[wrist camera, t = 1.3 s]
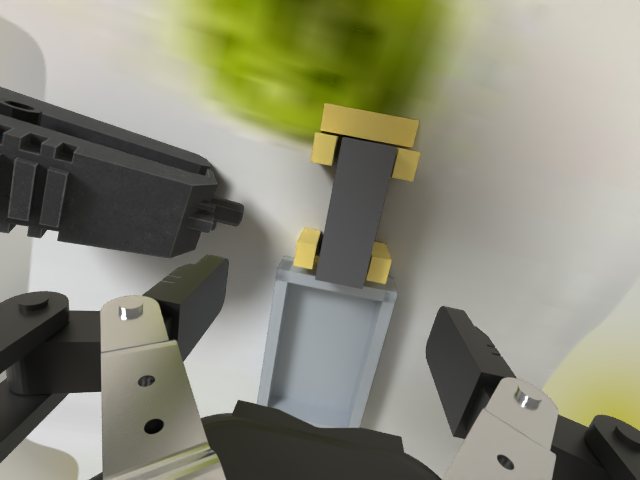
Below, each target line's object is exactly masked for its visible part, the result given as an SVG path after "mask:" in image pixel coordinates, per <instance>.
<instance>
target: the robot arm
mask: <svg viewBox="0 0 640 480" xmlns="http://www.w3.org/2000/svg"><path fill="white" fill-rule="evenodd" d="M228 266H229V261H228V259H227V258H222V257H218V256H213V255H206V256H205V257H204V258H202V259H201V260H200V261H199V262H198V263H196V264H195V265H194V264H188V265H185V266H182V267H179V268H177V269H176V270H174V271H173V272H172V273H171V274H169V276H167V277H165V278H164V279H163V280H162V281H160V282H159V283H158V284H156V285H155V286H154V287H152V288H151V289H150V290H149V291H147V292H146V293H145V294H143V295H142V296H137V295H133V296H124V297H119V298H116V299H113V300H111V301H109V302H107V303H106V304H105V305H104V306H103V307H102V308H101V311H69V300H68V298H67V297H66V296H65V295H63V294H60V293H57V292H48V291H40V292H31V293H25V294H21V295H18V296H15V297H12V298H9V299H7V300H5V301H3V302H1V303H0V374H1V373H2V372H3V371H5V370H6V374H7V378H6V379H5V380H4V381H2V382H1V383H0V463H1V462H2V461H3V460H4V459H5V458H6V457H7V456H8V455H9V454H10V453H11V452H12V451H13V450H14V448H16V447H17V446H18V445H19V444H20V443H21V442H22V441H23V440H24V438H26V437H27V436H28V435H29V434H30V433H31V431H32V430H33V429H34V428H35V427H36V426H37V425H38V424H39V423H40V422H41V421H42V420H43V419H44V418H45V417H46V416H47V415H48V414H49V413H50V412H51V411H52V410H53V409H54V408H55V407H56V406H57V405H58V404H59V403H60V402H61V401H62V400H63V399H64V398H65V397H66V396H67V395H68V394H69V393H81V392H101V394H102V460H103V472H102V473H100V474H98V475H96V476H95V477H93V478H91V479H89V480H640V431H639V430H637V429H636V428H634V427H632V426H631V425H629V424H626V423H625V422H623V421H621V420H619V419H616V418H613V417H610V416H606V415H597V416H595V418H594V419H593V421H592V422H591V424H590V425H589V427H586V426H584V425H581V424H579V423H577V422H574V421H572V420H570V419H567V418H565V417H562V416H560V415H558V409H557V406H556V405H555V403H554V402H553V401H552V400H551V398H549V397H548V396H547V395H546V394H545V393H544V392H543V391H541V390H540V389H538V388H537V387H535V386H533V385H532V384H530V383H528V382H525V381H523V380H520V379H517V378H516V376H515V375H514V373H513V372H512V370H511V369H510V368H509V366H508V365H507V363H506V362H505V360H504V359H503V357H501V356H500V353H499V352H498V350H497V349H496V348H495V346H494V344H493V343H492V341H491V340H490V339H489V337H488V336H487V335H486V334H484V333H483V332H482V331H481V330H480V329H479V328H477V327H475V326H474V325H473V324H472V322H471V320H470V319H469V317H468V316H467V314H466V313H465V312H464V311H463V310H459V309H454V308H450V307H445V306H442V307H441V308H440V309H439V311H438V313H437V316H436V318H435V321H434V324H433V327H432V330H431V332H430V335H429V338H428V341H427V345H426V359H427V362H428V365H429V368H430V371H431V374H432V377H433V379H434V382H435V385H436V388H437V391H438V394H439V397H440V400H441V403H442V405H443V408H444V411H445V414H446V417H447V420H448V423H449V426H450V429H451V431H452V434H453V436H454V437H458V438H463V439H465V440H464V442H463V444H462V446H461V447H460V449H459V451H458V453H457V454H456V456H455V458H454V460H453V461H452V463H451V465H450V466H449V468H448V470H447V472H446V473H445V475H444V477H443V479H441V478H440V477H439V476H438V475H437V474H435V473H434V472H433V471H432V470H431V469H430V468H428V467H427V466H426V465H424V464H423V463H421V462H420V461H419V460H417V459H415V458H414V457H412V456H410V455H408V454H406V453H404V450H403V444H402V438H401V437H400V436H395V435H391V434H386V433H382V432H378V431H373V430H369V429H364V428H319V427H315V426H313V425H311V424H309V423H307V422H305V421H302V420H300V419H298V418H296V417H294V416H292V415H290V414H288V413H285V412H283V411H281V410H279V409H276V408H272V407H267V406H263V405H258V404H254V403H249V402H245V401H241V400H238V401H237V404H236V406H235V409H234V411H233V413H225V414H216V415H211V416H207V417H204V418H201V419H200V415H199V412H198V409H197V406H196V402H195V399H194V396H193V393H192V389H191V386H190V383H189V380H188V376H187V373H186V370H185V367H184V363H183V362H184V360H185V359H186V358H187V356H188V355H189V354H190V352H191V351H192V349H193V348H194V347H195V345H196V344H197V343H198V341H199V340H200V339H201V337H202V336H203V334H204V333H205V332H206V330H207V329H208V328H209V326H210V325H211V323H212V322H213V321H214V319H215V318H216V317H217V315H218V314H219V312H220V311H221V309H222V306H223V303H224V299H225V292H226V284H227V275H228Z"/></svg>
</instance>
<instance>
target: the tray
mask: <svg viewBox="0 0 640 480" xmlns="http://www.w3.org/2000/svg"><path fill="white" fill-rule="evenodd" d="M293 264H294V258H291V257H286V256H284V257H283V259H282V261H281V263H280V264H279V266H278V268H277V273H276V280H275V286H274V293H273V300H272V306H271V313H270V320H269V326H268V333H267V340H266V346H265V353H264V360H263V366H262V373H261V380H260V386H259V393H258V400H257V404H258V405H263V406H267V407H272V408H276V409H279V410H281V411H283V412H285V413H288V414H290V415H292V416H294V417H296V418H298V419H300V420H302V421H305V422H307V423H309V424H311V425H313V426H315V427H319V428H359V427H360V424H361V420H362V417H363V413H364V410H365V406H366V403H367V399H368V396H369V392H370V389H371V385H372V382H373V378H374V375H375V371H376V368H377V364H378V361H379V357H380V354H381V350H382V347H383V343H384V340H385V336H386V333H387V329H388V326H389V322H390V319H391V315H392V312H393V308H394V305H395V301H396V297H397V294H398V292H397V289H396V286H395V283H394V279H393V278H391V277H387V281H386V284H383V283H378V282H373V281H368V280H366V278H365V282H364V286H363V289H358V288H353V287H348V286H343V285H338V284H333V283H328V282H323V281H318V280H315V277H316V272H317V267H318V265H313V268H312V269H308V268H303V267H298V266H293Z"/></svg>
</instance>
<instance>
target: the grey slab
mask: <svg viewBox="0 0 640 480" xmlns="http://www.w3.org/2000/svg"><path fill="white" fill-rule="evenodd" d="M396 152H397V147H393V146H388V145H383V144H378V143H372V142H367V141H362V140H357V139H351V138H346V137H342V142H341V148H340V153H339V158H338V163H337V168H336V174H335V179H334V184H333V189H332V194H331V199H330V205H329V210H328V215H327V220H326V225H325V231H324V236H323V241H322V246H321V251H320V256H319V262H318V267H317V272H316V277H315V280H318V281H323V282H328V283H333V284H338V285H343V286H348V287H353V288H358V289H363V286H364V282H365V278H366V274H367V270H368V266H369V261H370V257H371V253H372V249H373V245H374V241H375V237H376V233H377V229H378V225H379V221H380V217H381V213H382V209H383V205H384V201H385V196H386V192H387V188H388V184H389V180H390V176H391V172H392V168H393V164H394V160H395V156H396Z"/></svg>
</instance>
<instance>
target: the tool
mask: <svg viewBox="0 0 640 480" xmlns="http://www.w3.org/2000/svg"><path fill="white" fill-rule="evenodd" d="M210 168H211V166H210V164H209V162H208V160H207V159H205V158H203V157H201V156H199V155H198V154H195V153H192V152H189V151H186V150H183V149H180V148H177V147H174V146H171V145H168V144H166V143H163V142H160V141H157V140H154V139H151V138H148V137H145V136H142V135H139V134H136V133H133V132H131V131H128V130H125V129H122V128H119V127H116V126H113V125H110V124H107V123H104V122H101V121H98V120H96V119H93V118H90V117H87V116H84V115H81V114H78V113H75V112H72V111H69V110H66V109H63V108H61V107H58V106H55V105H52V104H49V103H46V102H43V101H40V100H37V99H34V98H31V97H28V96H26V95H23V94H20V93H17V92H14V91H11V90H8V89H5V88H2V87H0V232H3V233H9V232H10V231H11V230H12V229H13V228H14V227H15V226H16V225H23V226H29V227H28V234H27V236H29V237H35V238H41V237H42V236H43V235H44V233H45V232H46V231H47V230H53V231H59V234H58V239H57V241H61V242H68V243H74V244H81V245H87V246H94V247H100V248H107V249H113V250H120V251H126V252H133V253H139V254H146V255H152V256H159V257H165V258H172V257H175V256H178V255H181V254H183V253H186V252H189V251H192V250H195V248H196V245H197V242H198V239H199V236H200V233H201V231H202V232H207V233H209V232H210V230H214V229H215V227H216V223H217V222H220V223H224V224H228V225H232V226H238V225H239V224H240V222H241V220H242V217H243V213H244V206H243V205H242V204H240V203H237V202H233V201H230V200H226V199H222V198H219V197H215V196H213V195H214V192H215V190H216V187H217V181H216V179H215V176H214V173H213V171H212V170H210Z"/></svg>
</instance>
